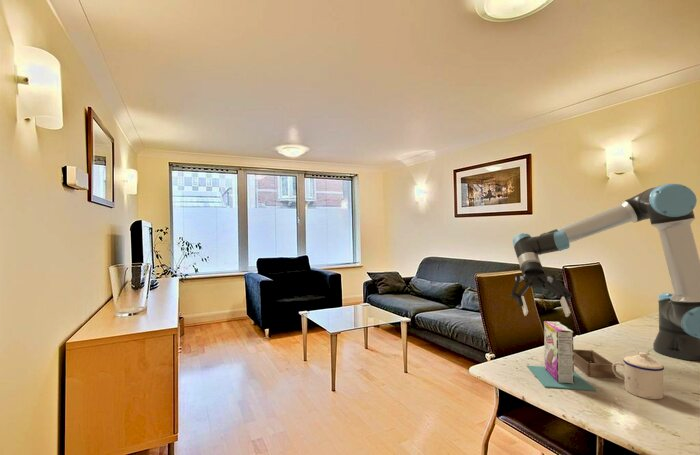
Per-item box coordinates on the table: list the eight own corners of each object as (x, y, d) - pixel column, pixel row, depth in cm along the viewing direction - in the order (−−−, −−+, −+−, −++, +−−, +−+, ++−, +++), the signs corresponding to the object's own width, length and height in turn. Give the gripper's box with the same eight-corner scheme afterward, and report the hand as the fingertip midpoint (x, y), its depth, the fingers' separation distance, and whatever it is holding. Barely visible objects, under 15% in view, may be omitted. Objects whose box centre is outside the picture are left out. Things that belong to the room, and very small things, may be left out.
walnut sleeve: (592, 361, 125) (592, 350, 125) (615, 377, 111) (615, 365, 111) (567, 359, 126) (567, 349, 126) (587, 376, 112) (587, 363, 112)
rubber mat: (570, 369, 117) (570, 368, 117) (595, 390, 102) (595, 389, 102) (527, 366, 120) (527, 365, 120) (544, 387, 104) (544, 386, 104)
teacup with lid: (667, 393, 100) (666, 353, 100) (661, 403, 94) (660, 361, 94) (616, 379, 109) (616, 343, 109) (607, 388, 103) (607, 349, 103)
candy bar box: (543, 368, 117) (543, 320, 117) (559, 370, 116) (559, 321, 116) (556, 383, 106) (556, 330, 106) (574, 384, 105) (574, 331, 105)
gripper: (562, 272, 135) (582, 320, 120) (495, 272, 139) (507, 318, 124) (568, 260, 130) (590, 309, 115) (499, 260, 134) (511, 307, 119)
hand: (547, 314), depth 120 cm, fingers open, 13 cm apart
